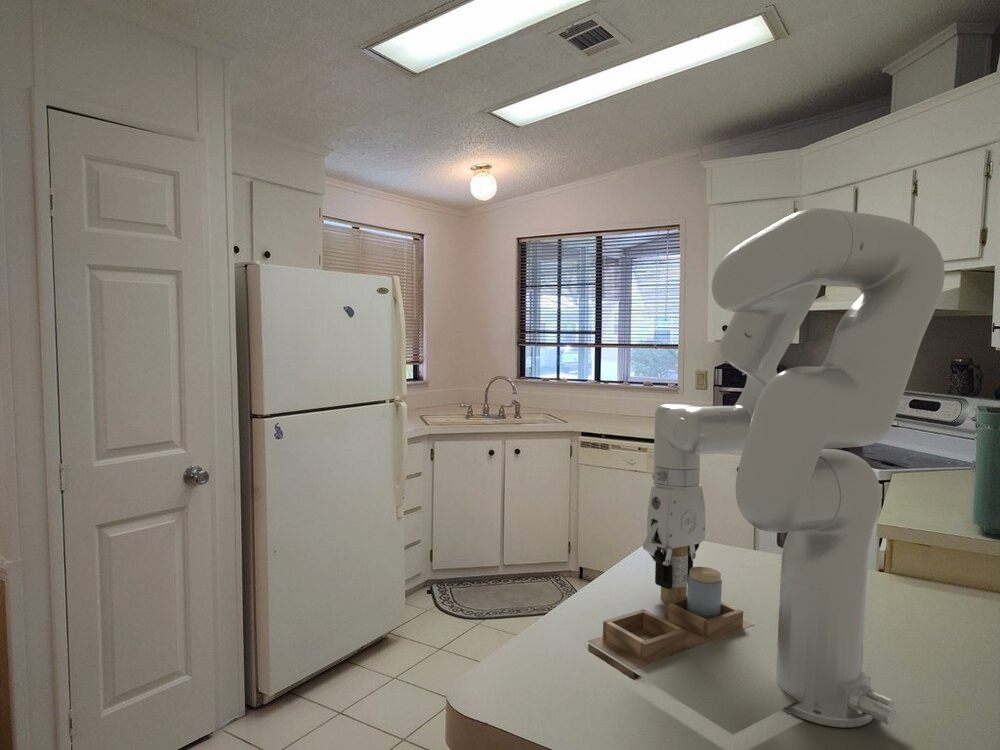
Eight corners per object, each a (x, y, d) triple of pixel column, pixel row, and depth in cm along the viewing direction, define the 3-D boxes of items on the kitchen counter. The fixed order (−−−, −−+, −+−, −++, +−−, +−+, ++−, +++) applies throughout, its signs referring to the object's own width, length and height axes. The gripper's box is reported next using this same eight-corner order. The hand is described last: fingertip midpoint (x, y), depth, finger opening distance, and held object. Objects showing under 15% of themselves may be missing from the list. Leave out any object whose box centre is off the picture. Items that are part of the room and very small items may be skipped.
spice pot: (727, 625, 94) (729, 574, 94) (705, 632, 91) (707, 580, 91) (700, 613, 98) (702, 564, 98) (679, 620, 95) (681, 569, 95)
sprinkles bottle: (670, 595, 107) (671, 519, 107) (692, 603, 104) (694, 524, 103) (654, 601, 104) (655, 523, 104) (677, 609, 101) (678, 529, 100)
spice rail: (754, 634, 95) (755, 608, 94) (633, 679, 80) (634, 650, 80) (706, 612, 102) (707, 588, 102) (588, 650, 88) (588, 623, 88)
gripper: (658, 485, 96) (655, 601, 96) (726, 476, 105) (724, 581, 105) (624, 477, 102) (622, 586, 102) (691, 469, 111) (689, 568, 112)
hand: (673, 582), depth 104 cm, fingers closed on sprinkles bottle, 4 cm apart
